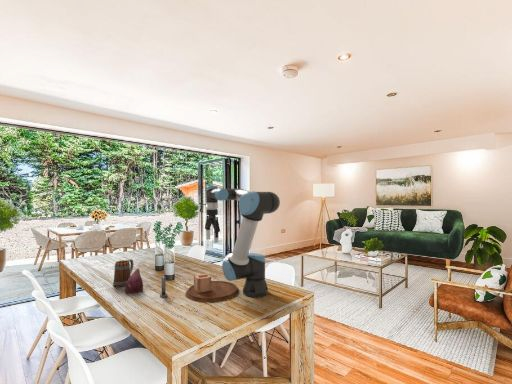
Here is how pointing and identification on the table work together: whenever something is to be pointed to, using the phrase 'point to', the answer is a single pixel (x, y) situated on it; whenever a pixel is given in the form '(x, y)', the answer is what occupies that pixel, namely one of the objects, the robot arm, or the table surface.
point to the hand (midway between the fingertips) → (212, 241)
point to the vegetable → (134, 283)
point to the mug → (122, 272)
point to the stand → (163, 287)
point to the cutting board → (214, 292)
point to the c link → (202, 283)
